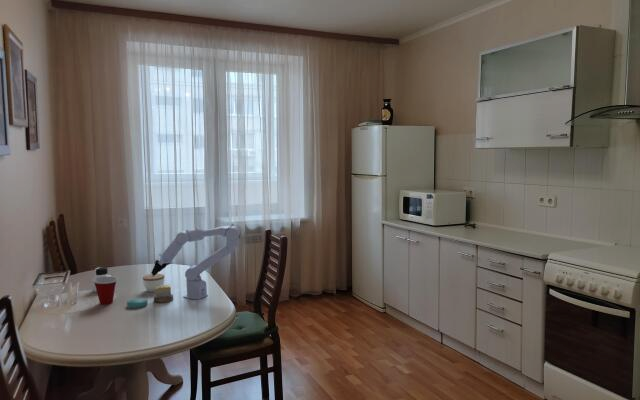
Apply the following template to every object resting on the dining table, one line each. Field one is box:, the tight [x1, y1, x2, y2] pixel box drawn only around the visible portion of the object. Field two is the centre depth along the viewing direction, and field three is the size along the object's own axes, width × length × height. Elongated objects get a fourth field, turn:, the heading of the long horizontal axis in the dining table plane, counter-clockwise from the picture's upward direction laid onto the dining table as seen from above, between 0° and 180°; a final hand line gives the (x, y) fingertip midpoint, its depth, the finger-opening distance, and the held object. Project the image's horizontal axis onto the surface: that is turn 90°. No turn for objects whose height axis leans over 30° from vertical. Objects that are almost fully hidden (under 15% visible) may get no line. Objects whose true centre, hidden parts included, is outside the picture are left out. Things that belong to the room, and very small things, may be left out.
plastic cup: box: [93, 276, 118, 306], centre depth 229 cm, size 11×11×12 cm
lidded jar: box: [142, 273, 165, 293], centre depth 249 cm, size 11×11×9 cm
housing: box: [155, 284, 172, 298], centre depth 232 cm, size 7×4×5 cm, turn 109°
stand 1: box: [126, 297, 148, 310], centre depth 225 cm, size 9×9×2 cm
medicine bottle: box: [91, 266, 112, 292], centre depth 252 cm, size 7×7×12 cm
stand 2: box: [153, 293, 174, 304], centre depth 233 cm, size 9×9×2 cm
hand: (155, 272), depth 236 cm, fingers open, 7 cm apart
